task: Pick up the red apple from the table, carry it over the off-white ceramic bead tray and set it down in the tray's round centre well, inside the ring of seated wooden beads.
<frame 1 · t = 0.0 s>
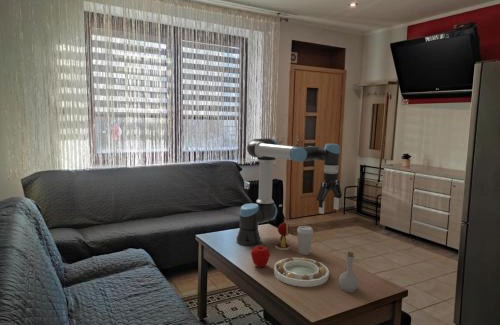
hand: (328, 211, 189), 28 cm above the table, fingers open, 13 cm apart
apple: (260, 266, 183), on the table
bead tray: (300, 274, 174), on the table
coffee cup: (304, 252, 203), on the table
figurine: (282, 247, 211), on the table
potion bottle: (348, 289, 160), on the table
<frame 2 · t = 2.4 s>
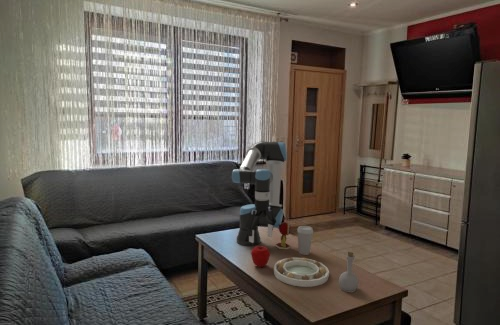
hand: (260, 239, 181), 15 cm above the table, fingers open, 13 cm apart
figurine: (282, 246, 211), on the table, touching arm
everything else where it was.
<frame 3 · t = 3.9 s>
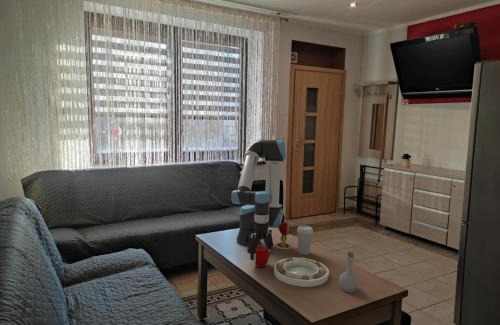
hand: (260, 262, 182), 2 cm above the table, fingers closed on apple, 10 cm apart
apple: (260, 266, 183), on the table, touching gripper
everything else where it was.
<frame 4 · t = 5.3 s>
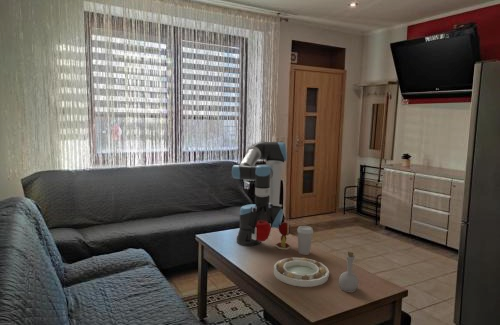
hand: (261, 237, 181), 16 cm above the table, fingers closed on apple, 10 cm apart
apple: (261, 240, 181), point 14 cm above the table, touching gripper
everything else where it was.
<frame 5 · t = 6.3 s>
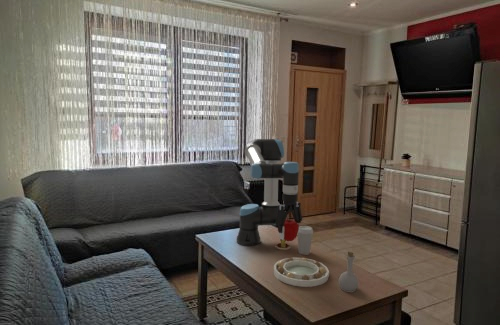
hand: (288, 237, 174), 18 cm above the table, fingers closed on apple, 10 cm apart
apple: (288, 240, 174), point 16 cm above the table, touching gripper
figurine: (282, 247, 211), on the table
everything else where it was.
when the fingers open (5 cm above the table, at t = 9.2 s): apple drops 2 cm, resting on bead tray.
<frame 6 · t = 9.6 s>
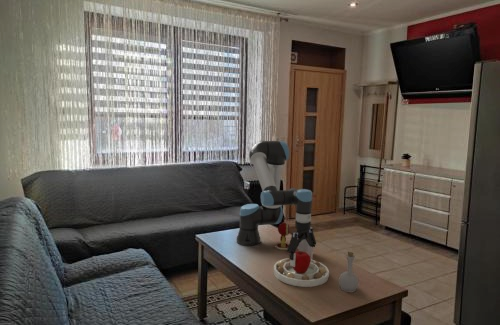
hand: (301, 262, 174), 6 cm above the table, fingers open, 13 cm apart
apple: (300, 272, 174), point 1 cm above the table, touching bead tray
everything else where it was.
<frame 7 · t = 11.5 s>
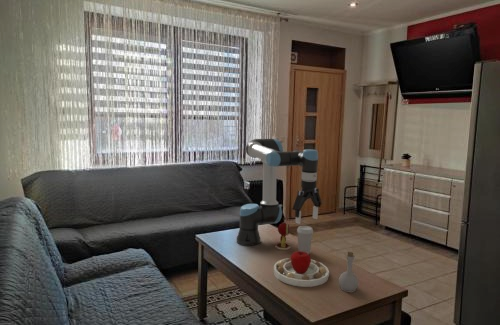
hand: (306, 221, 178), 26 cm above the table, fingers open, 13 cm apart
nothing on the table moved.
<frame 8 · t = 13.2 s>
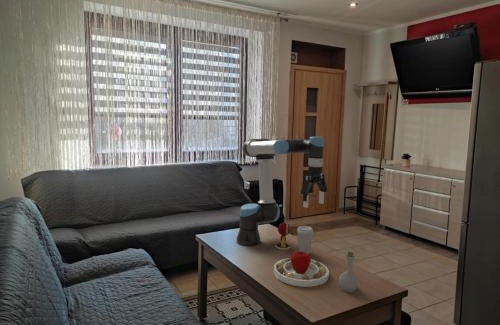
hand: (313, 205, 186), 32 cm above the table, fingers open, 13 cm apart
nothing on the table moved.
at the end: apple inside the target area on the bead tray (0.5 cm from its centre), point 0.9 cm above the bead tray's base; the gripper is holding nothing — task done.
